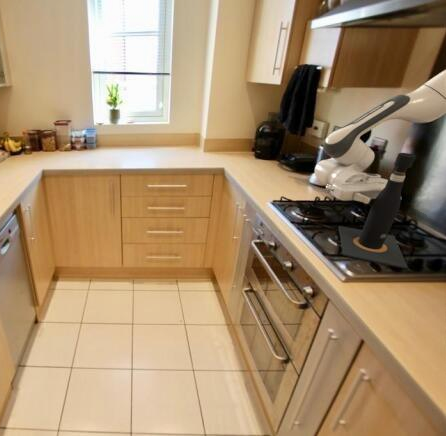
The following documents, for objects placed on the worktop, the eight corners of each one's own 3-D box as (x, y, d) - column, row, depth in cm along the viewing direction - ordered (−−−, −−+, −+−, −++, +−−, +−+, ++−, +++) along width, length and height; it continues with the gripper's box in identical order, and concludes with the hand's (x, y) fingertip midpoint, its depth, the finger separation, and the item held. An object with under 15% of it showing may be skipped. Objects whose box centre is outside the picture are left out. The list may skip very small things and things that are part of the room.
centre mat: (393, 237, 108) (394, 235, 107) (407, 269, 92) (408, 267, 92) (338, 227, 114) (339, 225, 114) (342, 255, 99) (343, 253, 99)
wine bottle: (361, 236, 107) (395, 150, 93) (384, 244, 103) (423, 154, 89) (355, 243, 103) (390, 154, 89) (378, 251, 99) (419, 159, 85)
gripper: (325, 176, 107) (355, 193, 95) (382, 173, 108) (419, 189, 96) (320, 193, 110) (349, 211, 98) (375, 190, 111) (410, 208, 99)
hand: (384, 200), depth 97 cm, fingers open, 8 cm apart
